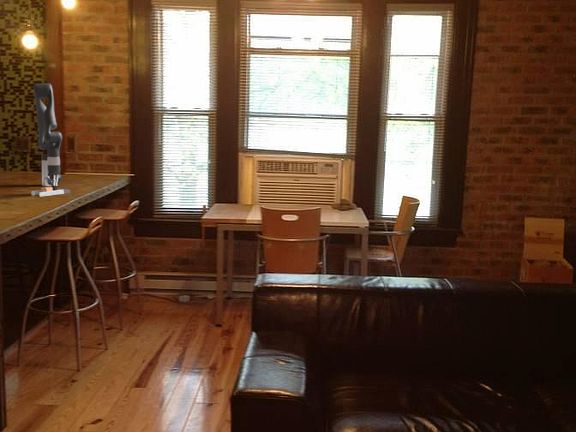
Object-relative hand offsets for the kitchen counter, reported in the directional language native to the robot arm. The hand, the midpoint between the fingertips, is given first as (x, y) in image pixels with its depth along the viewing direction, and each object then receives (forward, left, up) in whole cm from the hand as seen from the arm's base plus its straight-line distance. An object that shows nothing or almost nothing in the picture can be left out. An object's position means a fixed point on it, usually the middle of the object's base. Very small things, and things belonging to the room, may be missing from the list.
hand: (54, 191), depth 420 cm
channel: (+5, 0, -1) cm, 5 cm away
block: (+5, 0, -1) cm, 6 cm away
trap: (-7, 0, -1) cm, 7 cm away
